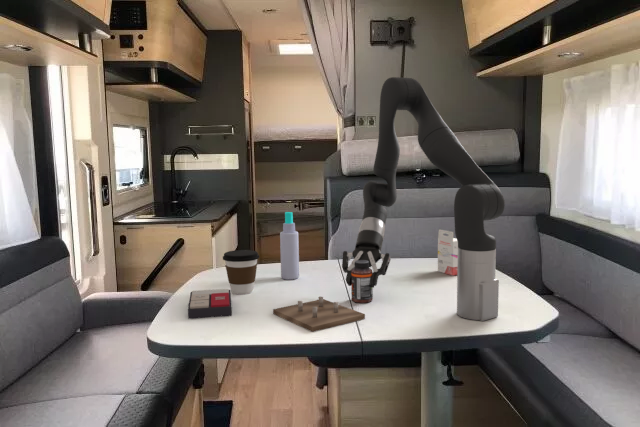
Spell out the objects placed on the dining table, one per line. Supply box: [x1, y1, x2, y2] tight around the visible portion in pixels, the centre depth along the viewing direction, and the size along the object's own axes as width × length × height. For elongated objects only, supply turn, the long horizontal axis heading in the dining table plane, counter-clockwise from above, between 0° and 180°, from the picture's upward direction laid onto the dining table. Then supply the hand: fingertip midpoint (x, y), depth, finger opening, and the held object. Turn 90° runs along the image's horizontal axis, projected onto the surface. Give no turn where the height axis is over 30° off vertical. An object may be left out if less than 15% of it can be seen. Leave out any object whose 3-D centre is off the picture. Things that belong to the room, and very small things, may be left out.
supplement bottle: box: [350, 260, 374, 304], centre depth 152 cm, size 6×6×11 cm
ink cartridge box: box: [437, 229, 458, 277], centre depth 185 cm, size 9×5×15 cm, turn 25°
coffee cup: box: [222, 249, 260, 295], centre depth 164 cm, size 11×11×12 cm
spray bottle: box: [279, 211, 300, 281], centre depth 180 cm, size 6×6×22 cm
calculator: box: [187, 288, 233, 320], centre depth 147 cm, size 11×4×15 cm
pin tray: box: [272, 296, 366, 333], centre depth 139 cm, size 18×16×4 cm
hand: (360, 285), depth 150 cm, fingers closed on supplement bottle, 6 cm apart
